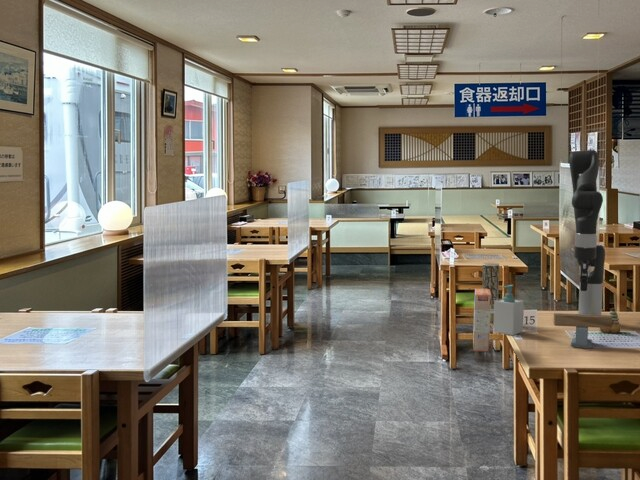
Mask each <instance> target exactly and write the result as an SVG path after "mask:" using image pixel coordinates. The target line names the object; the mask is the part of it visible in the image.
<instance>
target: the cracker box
mask: <svg viewBox="0 0 640 480" xmlns="http://www.w3.org/2000/svg"><path fill="white" fill-rule="evenodd" d="M473 301H474V302H473V303H474V304H473V331H472V332H473V333H472V339H473V340H472V350H473V352H478V353H479V352H481V353H483V352H484V353H489V351H490V333H491V332H490V331H491V329H490V328H491V322H490V315H491V292H490V289H482V288H475V289H474V300H473Z"/></svg>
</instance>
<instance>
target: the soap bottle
mask: <svg viewBox="0 0 640 480" xmlns="http://www.w3.org/2000/svg"><path fill="white" fill-rule="evenodd" d="M512 287H514V284H508V285H504V286H503V287H502V288H503V289H506V291H507V293H505V296H503V298H498V300H495V301H494V322H493V333H496V334H502V335H508V336H515V335H518V334H521V333H523V332H524V311H525V310H524V309H525V307H524V305H525V301H524V300H522V299H516V298H515V296H514V294H513V293H512V291H513V290H512V289H513V288H512Z"/></svg>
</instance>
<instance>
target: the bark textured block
mask: <svg viewBox="0 0 640 480" xmlns="http://www.w3.org/2000/svg"><path fill="white" fill-rule="evenodd" d="M481 281H482V285H481V289H490V292H491V315H490V323H494V301H495V300H499V289H500V287H499V286H500V285H499V282H500V263H499V262H483V263H482V280H481Z"/></svg>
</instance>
